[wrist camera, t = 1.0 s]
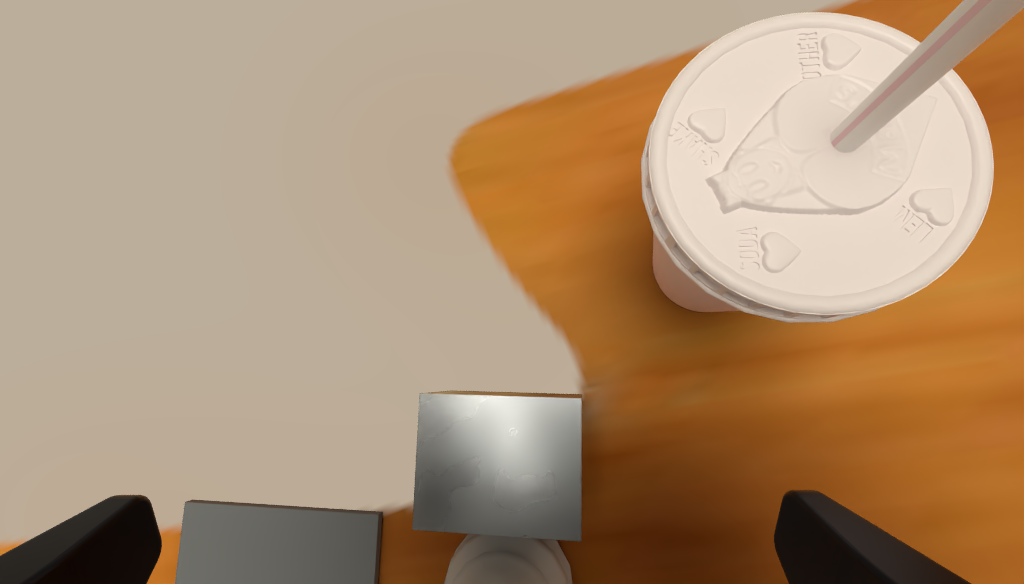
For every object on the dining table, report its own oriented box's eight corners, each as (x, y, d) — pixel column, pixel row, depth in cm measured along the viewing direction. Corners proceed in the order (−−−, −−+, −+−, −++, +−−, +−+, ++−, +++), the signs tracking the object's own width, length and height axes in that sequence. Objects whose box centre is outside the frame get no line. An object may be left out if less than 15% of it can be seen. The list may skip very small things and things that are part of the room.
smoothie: (826, 308, 19) (1506, 106, 5) (659, 375, 19) (855, 366, 5) (743, 157, 20) (1093, -334, 6) (589, 223, 20) (600, -101, 7)
